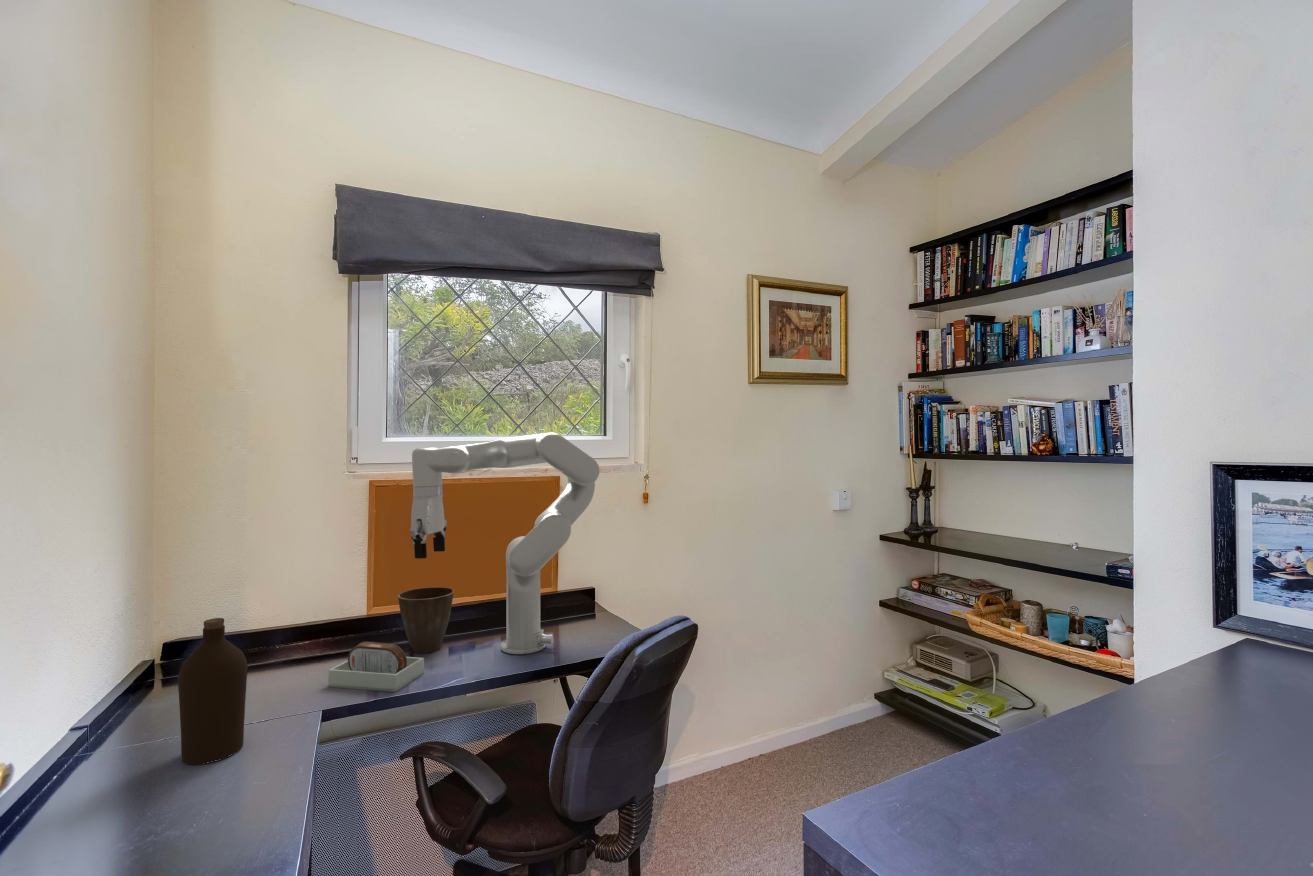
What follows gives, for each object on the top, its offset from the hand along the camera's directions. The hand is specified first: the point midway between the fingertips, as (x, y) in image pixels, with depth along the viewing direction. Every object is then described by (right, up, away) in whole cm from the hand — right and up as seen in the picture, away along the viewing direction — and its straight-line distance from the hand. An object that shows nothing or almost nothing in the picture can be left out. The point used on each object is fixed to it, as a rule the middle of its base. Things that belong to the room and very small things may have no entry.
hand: (430, 554), depth 165 cm
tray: (-7, -28, -17) cm, 33 cm away
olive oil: (-22, -28, -51) cm, 62 cm away
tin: (-7, -27, -17) cm, 33 cm away
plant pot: (-3, -28, +6) cm, 29 cm away
